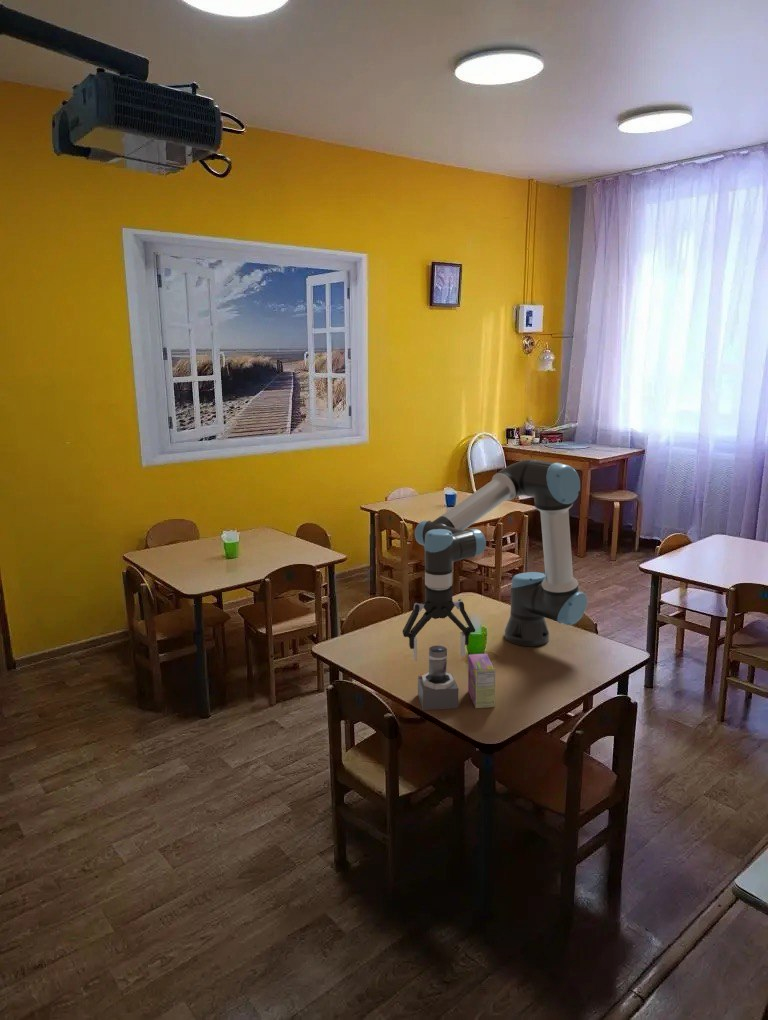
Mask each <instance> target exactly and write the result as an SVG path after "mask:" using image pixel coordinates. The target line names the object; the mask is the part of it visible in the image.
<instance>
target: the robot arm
mask: <svg viewBox="0 0 768 1020" xmlns="http://www.w3.org/2000/svg"><path fill="white" fill-rule="evenodd" d="M580 491H581V480H580V476H579V473H578V472H577V470H576V469H575V468H573V466H570V465H569V464H564V463H562V462H551V461H545V460H537V459H531V458H530V459H524V460H520V461H517V462H514V463H512V464H510V465H508V466H506V467H505V468H502V469H501V470H499V471H498V472H496V473H495V474H494V475H493V476H492V478H491V481H489V482H488V483H486V484H485V485H484V486H482V487H480V488H479V489H477V490H476V491H475V492H473V493H472V494H470V495H469V496H467V497H466V498H465V499H463V500H461V502H459V503H458V504H456V505H455V506H453V507H451V508H450V509H448V510H447V511H446V512H444V513H443V514H442V515H440V516H439V517H437V518H435V519H434V520H433V521H431V520H422V521H420V522H419V523H418V524H417V525H416V527H415V529H414V538H415V541H416V542H417V543H418V544H419V545H421V546H424V547H423V548H424V585H425V586H424V595H425V597H424V602H423V603H419V602H418V601H415V602H414V603H413V609H412V611H411V613H410V614H409V615H410V616H409V617H408V619H407V622H406V623H405V625H404V627H403V630H402V631H401V632H402V635H403V637H404V638H408V646H409V648H410V650H412V659H413V660H414V662H416V661H418V638H417V635H418V634H419V633H420V631H421V630H422V629H423V628H424V627H425V625H426V624H427V623H428V622H430V620H431V619H434V620H437V619H445V618H447V617H448V618H449V619H450V620H451V621H452V622H453V623H454V624H455V625H456V626H457V627H458V629H460V640H459V641H460V642H459V643H460V644H459V645H460V646H459V648H460V649H459V650H460V652H459V653H460V655H461V658H466V646H469V644H470V643H469V642H470V640H469V638H470V637H469V636H470V635H471V633H476V628H475V626H474V625H473V623H472V621H471V619H470V617H469V614H468V613H467V611H466V609H465V604H464V601H463V600H462V598H459V599H458V600H457V601H453V569H454V568H453V565H454V564H453V563H454V562H458V561H462V560H465V559H470V558H474V557H476V556H478V555H480V554H482V553H484V552H485V550H486V545H487V540H486V537H485V535H484V533H483V532H482V531H481V529H479V528H478V529H477V528H473V529H470V528H469V527H470V526H472V525H473V524H474V523H476V522H478V521H479V520H480V519H481V518H483V517H484V516H486V515H487V514H488V513H490V512H492V511H493V510H494V509H496V508H497V507H498V506H499V505H501V504H503V503H504V502H505V501H512V500H513V499H515V498H517V497H519V496H527V497H529V498H530V497H532V498H533V500H534V508H535V509H536V510H537V511H539V513H540V523H541V524H540V525H541V534H542V535H541V537H542V538H541V539H542V549H543V562H544V572H545V573H543V572H538V571H531V572H529V571H527V572H521V573H517V574H515V575H514V576H512V578H511V586H510V615H509V619H508V621H507V623H506V625H505V628H504V639H505V640H506V641H508V642H509V643H511V644H513V645H518V646H523V647H538V646H543V645H546V644H547V643H548V642H549V640H550V632H549V631H550V630H549V628H548V625H547V621H546V619H549V620H552V621H554V622H557V623H559V624H564V625H566V626H572V625H575V624H576V623H578V622H579V621H580V620H581V619H582V618H583V616H584V614H585V611H586V609H587V607H588V606H587V605H588V596H587V595H586V594H585V593H584V592H583V591H581V590H580V588H579V581H578V580H577V579H576V578H575V577H574V572H573V559H572V557H573V556H572V543H571V527H570V511H569V510H570V509H571V508H572V507H573V505H574V502H575V501H576V500H577V499H578V498H579V497H578V496H579V492H580ZM467 528H469V529H467ZM455 607H456V608H455ZM454 608H455V609H457V610H459V611H460V613H461V614H462V617H463V619H464V620H465V623H466V625H467V626H468V627H466V626H465V625H464V624H463V622H461V621H460V620H459V618H458V617H457V616H456V614H454V613H453V612H452V610H453V609H454ZM423 609H424V610H425V612H424V613H423V615H422V616H421V618H420V619H419V620H418V621H417V622H416V620H417V618H418V617H419V616H418V615H419V613H420V612H421V611H422V610H423ZM415 622H416V623H415Z"/></svg>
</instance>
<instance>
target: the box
mask: <svg viewBox="0 0 768 1020" xmlns="http://www.w3.org/2000/svg"><path fill="white" fill-rule="evenodd" d="M467 656H468V657H467V665H468V666H467V667H468V669H467V674H468V675H467V677H468V679H467V689H468V690H467V691H468V694H469V696H470V699H471V701H472V704H473V706H474V707H475V708H474V709H485V708H486V709H489V708H496V701H495V700H496V672H497V671H496V667H495V665H494V664H493V663H492V660H491V659H490V657H489V655H488V653H473V654H468V655H467Z"/></svg>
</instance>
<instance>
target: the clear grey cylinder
mask: <svg viewBox="0 0 768 1020" xmlns="http://www.w3.org/2000/svg"><path fill="white" fill-rule="evenodd" d="M447 659H448V649H447V647H446V646H443V645H432V646H430V647H429V648H428V672H429V682H431V683H434V684H441V683H446V673H447V666H448V665H447V663H448V662H447V661H448V660H447Z"/></svg>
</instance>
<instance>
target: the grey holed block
mask: <svg viewBox="0 0 768 1020" xmlns="http://www.w3.org/2000/svg"><path fill="white" fill-rule="evenodd" d="M417 696H418V700H419V702H420V705H421V708H422V711H433V710H448V709H449V710H451V709H459V686H458V683H457V682H456V679H455V678H454V675H453V673H448V672H446V683H441V684H434V683H431V682H429V671H428V672H426V673H424V674H419V675H417Z"/></svg>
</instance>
